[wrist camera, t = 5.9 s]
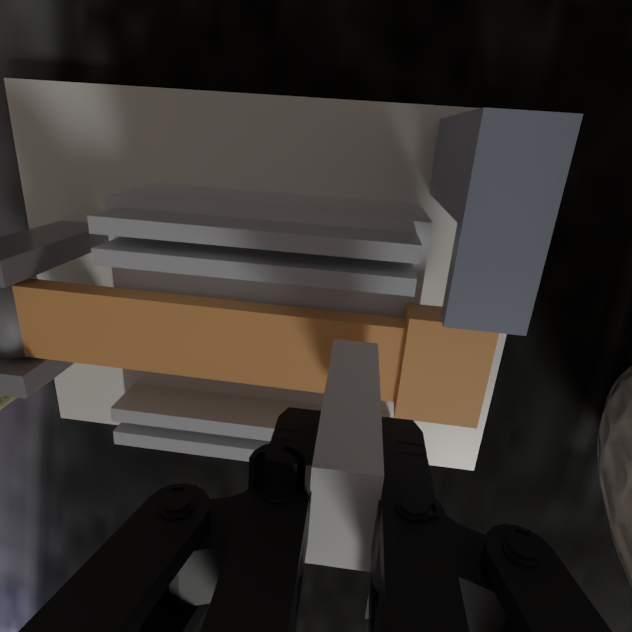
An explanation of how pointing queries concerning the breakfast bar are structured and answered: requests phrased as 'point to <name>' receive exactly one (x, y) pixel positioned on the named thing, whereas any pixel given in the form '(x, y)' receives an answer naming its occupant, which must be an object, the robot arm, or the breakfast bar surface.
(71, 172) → the base
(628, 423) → the vase
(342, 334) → the strap
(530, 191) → the lock
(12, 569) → the breakfast bar surface
